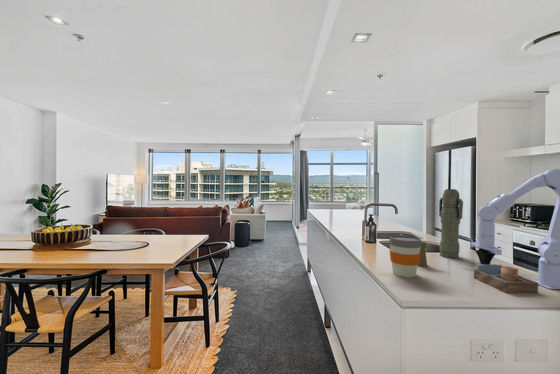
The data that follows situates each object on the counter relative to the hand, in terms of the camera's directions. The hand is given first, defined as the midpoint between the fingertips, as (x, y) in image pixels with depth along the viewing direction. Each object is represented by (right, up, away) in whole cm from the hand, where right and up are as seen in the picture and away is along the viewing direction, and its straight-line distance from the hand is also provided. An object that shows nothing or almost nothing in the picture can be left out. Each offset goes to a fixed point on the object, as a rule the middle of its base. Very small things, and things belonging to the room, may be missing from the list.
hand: (484, 268), depth 124 cm
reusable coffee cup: (-33, -3, +2) cm, 33 cm away
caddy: (0, -4, -10) cm, 11 cm away
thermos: (+4, -3, +33) cm, 34 cm away
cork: (-19, -3, +16) cm, 25 cm away
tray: (0, -2, -9) cm, 9 cm away
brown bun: (+1, -2, -12) cm, 13 cm away
